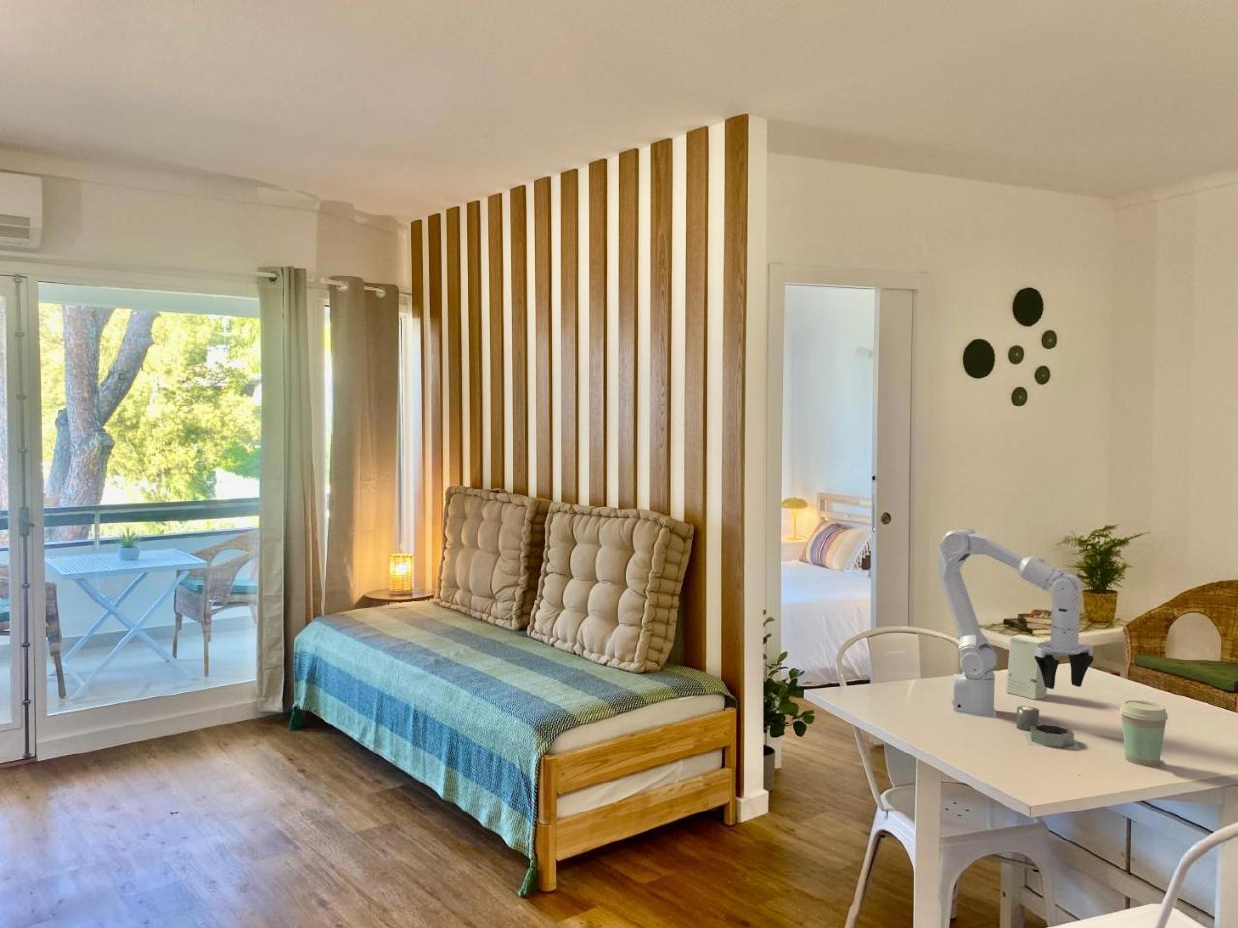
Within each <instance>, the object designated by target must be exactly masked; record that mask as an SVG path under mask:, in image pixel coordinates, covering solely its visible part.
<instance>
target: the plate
mask: <svg viewBox="0 0 1238 928" xmlns="http://www.w3.org/2000/svg"><path fill="white" fill-rule="evenodd" d="M1024 736H1025V739H1026V742H1027V745H1031V746H1041V747H1044V746H1043V745H1041V744H1038V743H1035V742H1032V741H1031V738H1030V732H1029V733H1028V732H1027V733H1025V732H1024ZM1047 747H1049V746H1047ZM1056 748H1058V747H1056ZM1064 749H1067V750H1075V751H1076V750H1079V751H1080V750H1081V749H1080V747H1079V745H1078V743H1077V741H1076V739H1075V738H1074V746H1070V747H1065V748H1064Z"/></svg>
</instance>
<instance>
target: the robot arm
mask: <svg viewBox="0 0 1238 928" xmlns="http://www.w3.org/2000/svg"><path fill="white" fill-rule="evenodd" d="M971 555H972V556H973V555H986V556H989V557H990V558H992V559H994V560H996V561H998V562H1001V563H1003V564H1005V565H1007V566H1008V567H1011V568H1013V569H1015V570H1017V572H1018V573H1019V576H1020V578H1021V579H1023V580H1025V581H1027V582H1029V583H1031V584H1033V585H1034V586H1036V587H1038V588H1040V589H1042V590H1043V591H1045V592H1049V594H1050V595H1051V597H1052V605H1051V617H1050V618H1051V621H1050V622H1051V623H1050V624H1051V625H1050V644H1049V645H1045V646H1041V647H1035V660H1036V662H1037V663H1038V665H1039V668H1040V670H1041V673H1042V676H1043V681H1044V685H1045V687H1047V689H1050V690H1054V689H1055V686H1056V675H1057V674H1056V673H1057V671H1058V666H1059V665H1060V660H1059V659H1055V657H1056V656H1068V659H1069V663H1070V680H1071V685H1072V686H1075V687H1078V688H1081V686H1082V684H1083V681H1084V678H1085V675H1086V672H1087V671H1088V669H1089V667H1090V666H1091V664H1092V663H1093V662H1094V656H1092V655H1094V651H1093V650H1094V645H1092V644H1091V645H1090V644H1088V643H1084V644H1083V643H1080V642H1079V639H1080V637H1079V636H1080V613H1081V609H1080V594H1081V593H1082V592H1083V588H1084V586H1083V585H1084V584H1083V582H1082V580H1081V579H1080V578H1079V577H1078V576H1077V575H1076V574H1075V573H1073V572H1065V569H1064V568H1062V567H1060V568H1057V567H1056V566H1054V565H1051V564H1050V563H1047V562H1045V558H1044V557H1042V556H1037V557H1035V555H1031V556H1029V557H1024V556H1023V555H1021V554H1019V553H1017V552H1016V551H1014V550H1012V549H1010V548H1008V547H1006V546H1005V545H1004V544H1001V543H999V542H998V541H996V540H995V539H993V538H991V537H989V536H987V535H986V534H983V533H981V532H976V530H974V529H972V528H968V527H965V528H960V529H957V530H956V529H953V530H949V531H948V532H946V533H945V534H944V535H943V536H942V538H941V540H940V541H939V542H938V554H937V559H936V564H935V570H936V573H937V576H938V581H940V583H939V584H940V585H941V588H942V592H943V594H944V597H945V601H946V602H947V605H948V608H949V612H950V614H951V618H952V620H953V623H954V625H955V629H956V632H957V635H958V637H959V642H958V651H959V655H960V657H959V658H960V659H959V667H960V669H961V670H962V673H956V674H955V673H954V674H953V689H952V693H953V695H952V696H951V705H952V708H953V713H956V714H965V715H973V716H982V717H983V716H985V717H992V718H993V717H994V718H997V713H996V709H995V685H996V684H995V683H996V682H995V680H996V679H995V677H996V675H995V673H994V669H995V668H996V666H997V665H998V659H999V657H998V654H997V652H996V651H995V650H994V648H993V647H992V646H991V645H990V643H989V640H988V638H987V637H986V636H985V635H984V634H983V632H982V630H981V627H980V624H979V621H978V619H977V616H976V613H975V611H974V607H973V604H972V601H971V598H970V596H969V592H968V590H967V587H966V584H965V581H964V578H963V576H962V573H961V569H962V567H963V565H965V562H966V560H967V559H968V558H969V557H970V556H971Z"/></svg>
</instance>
